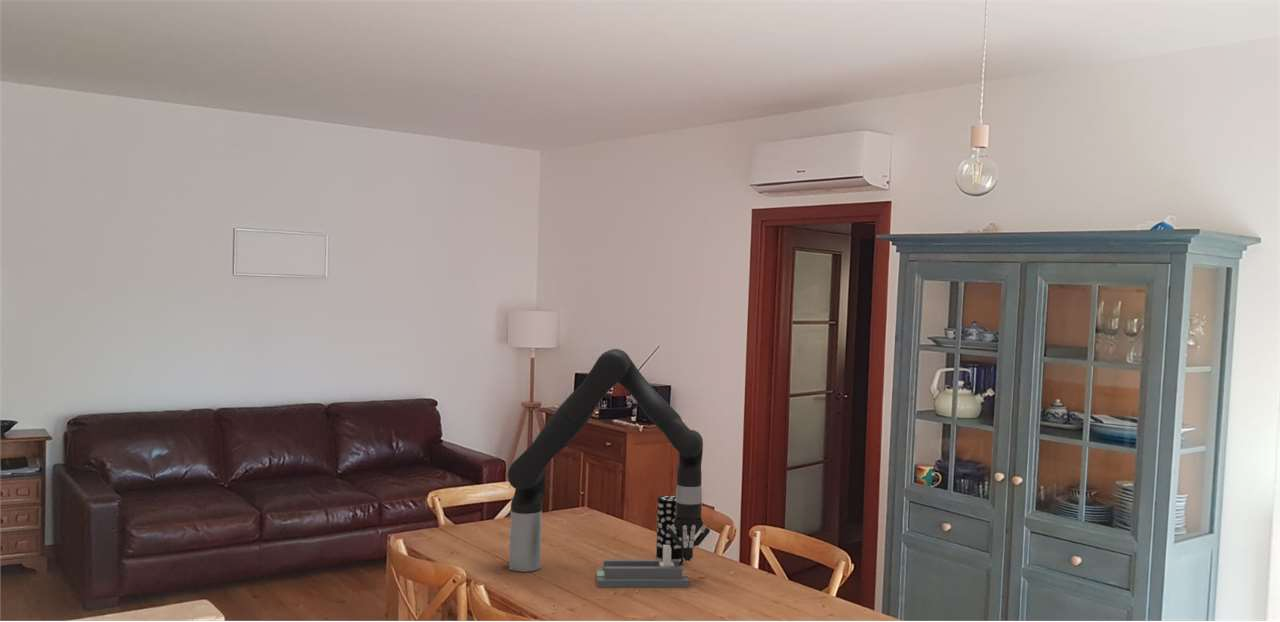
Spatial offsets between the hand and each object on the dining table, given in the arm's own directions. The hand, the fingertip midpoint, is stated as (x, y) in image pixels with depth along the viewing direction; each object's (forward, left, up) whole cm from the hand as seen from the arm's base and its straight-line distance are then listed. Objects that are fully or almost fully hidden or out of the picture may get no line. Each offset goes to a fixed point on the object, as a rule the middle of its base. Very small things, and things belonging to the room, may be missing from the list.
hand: (687, 559), depth 274 cm
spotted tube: (-3, +18, -6) cm, 19 cm away
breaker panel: (-13, 0, -6) cm, 14 cm away
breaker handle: (-6, 0, -4) cm, 7 cm away
